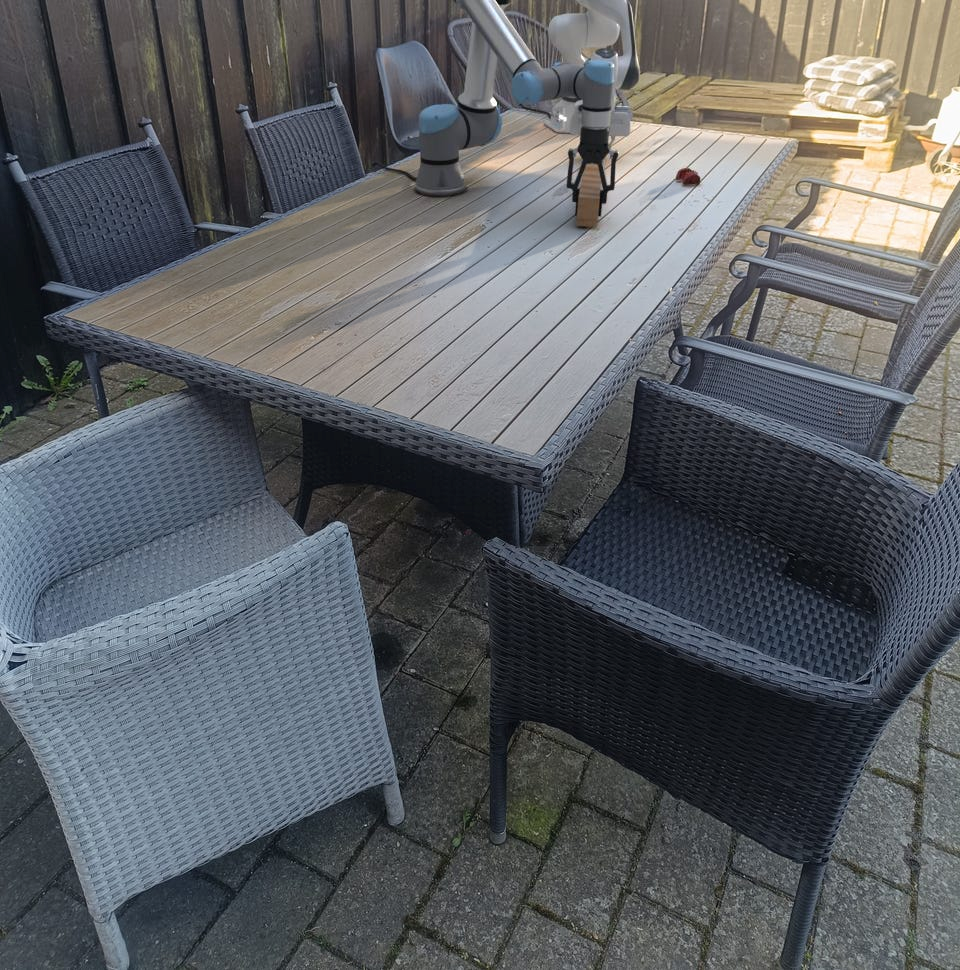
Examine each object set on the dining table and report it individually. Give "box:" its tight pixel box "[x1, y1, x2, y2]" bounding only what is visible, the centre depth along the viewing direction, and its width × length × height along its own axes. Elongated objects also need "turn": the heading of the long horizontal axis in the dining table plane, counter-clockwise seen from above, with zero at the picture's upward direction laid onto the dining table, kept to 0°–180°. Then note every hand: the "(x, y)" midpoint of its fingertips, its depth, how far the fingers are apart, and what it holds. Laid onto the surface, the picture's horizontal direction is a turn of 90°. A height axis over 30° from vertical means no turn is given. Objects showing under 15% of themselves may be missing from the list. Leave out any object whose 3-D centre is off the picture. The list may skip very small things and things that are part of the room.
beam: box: [575, 156, 607, 228], centre depth 257 cm, size 78×6×8 cm, turn 171°
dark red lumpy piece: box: [675, 167, 701, 186], centre depth 263 cm, size 6×4×8 cm
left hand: (588, 214), depth 234 cm, fingers closed on beam, 6 cm apart
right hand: (598, 149), depth 283 cm, fingers closed on beam, 6 cm apart
